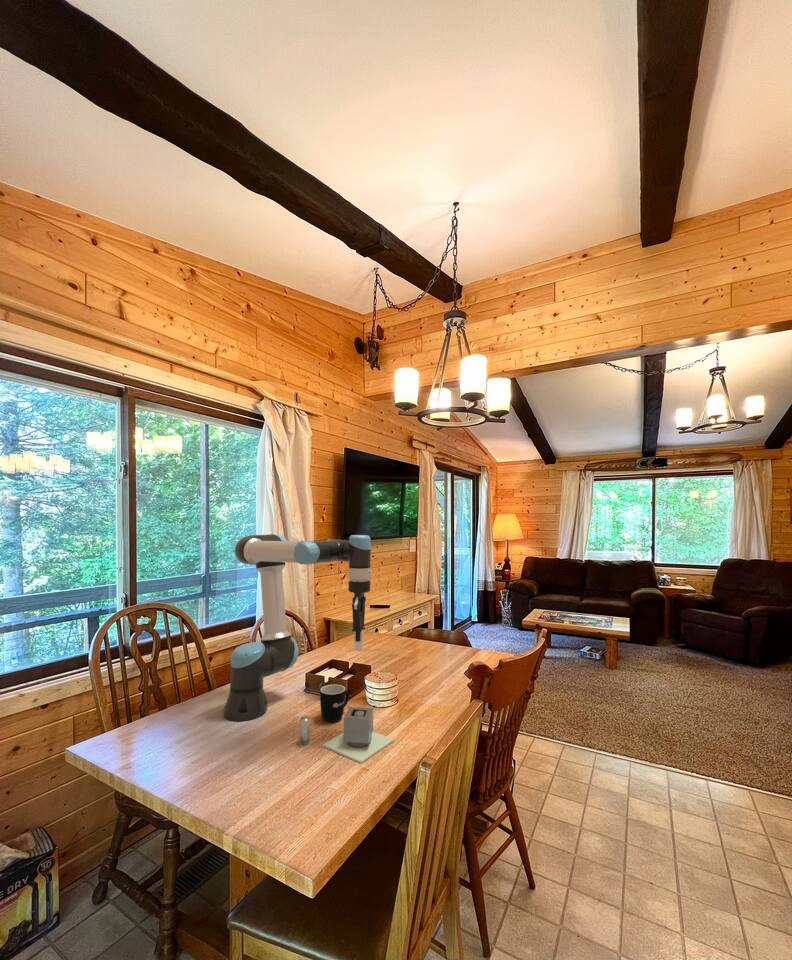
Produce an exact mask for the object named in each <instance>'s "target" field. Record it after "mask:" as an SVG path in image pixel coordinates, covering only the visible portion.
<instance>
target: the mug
mask: <svg viewBox="0 0 792 960" xmlns="http://www.w3.org/2000/svg"><path fill="white" fill-rule="evenodd" d="M319 700H320V701H319V702H320V713H321V717H322V720H323V721H324V722H325V723H336V722H339V721H340V720H341V719H342V717H343V714H344V710H345V707H346V706H347V704H348V703H349V702H348V701H349V693H348V691H347V690H346V687H345V686H343V685H341V684H327V685H324V686H322V687H321V688H320V691H319Z"/></svg>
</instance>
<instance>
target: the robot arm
mask: <svg viewBox="0 0 792 960" xmlns="http://www.w3.org/2000/svg"><path fill="white" fill-rule="evenodd" d="M348 539H349V540H345V539H344V540H343V539H336V538H334V539H326V540H312V541H311V540H305V541H304V540H296V541H295V540H287V538H286V537H284V536H283V535H280V534H274V533H272V534H253V535H252V534H251V535H246V536H244V537H242V538H241V539H239V540H238V541H237V543H236V544H235V547H234V555H235V558H236V559H237V561H239V562H240V563H242V564H245V565H251V566H252V565H253V566H254V565H255V569H256V571H258V572H259V573H260V586H261V600H262V603H261V604H262V605H261V606H262V614H263V615H262V617H263V632H264V633H263V636H262V637H261V638H260V642H259V641H253V642H247V643H244V644H241V645H239V646H236V648H235V649H233V650H232V652H231V658H230V661H229V662H230V679H229V681H230V682H229V694H228V696H227V699H226V702H225V705H224V707H223V716H224V718H225V719H227V720H230V721H234V722H243V721H245V722H246V721H250V720H255V719H257V718H260V717H261V716H264V715H265V714H266V713H267V712H268V700H267V697H266V694H265V690H264V678H266V677H269V676H271V675H272V676H273V675H275V674H278V673H280V672H285V671H287V670H288V669H291V668H292V667H293V666H294V665H295V663H297V660H298V657H299V645H298V644H297V641H296V640H295V639H294V637H292V634H291V633H290V632H289V631H288V630H287V619H286V607H285V605H286V604H285V592H284V590H285V589H284V582H283V569H285V567H286V563H295V564H299V565H309V566H310V565H314V564H321V563H324V564H325V563H331V562H348V579H349V580H348V586H347V588H348V592H349V593H353V594H354V595H353V597H352V604H351V609H352V630H351V632H353V634H354V636H353V637H354V638H353V641H354V642H353V651H354V652H363V650H364V648H363V647H364V641H363V640H364V630H366V627H364V626H365V618H366V617H365V616H366V614H365V613H366V601H367V597H366V596H365V593H366V594H367V593H369V592H371V581H370V579H371V574H372V573H373V571H372V570H371V555H372V554H371V553H372V546H371V545H372V544H371V537H370V536H369V535H367V534H366V535H365V534H351V535H350V536H349V538H348Z"/></svg>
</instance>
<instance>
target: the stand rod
mask: <svg viewBox="0 0 792 960" xmlns="http://www.w3.org/2000/svg"><path fill="white" fill-rule="evenodd" d="M299 727H300V728H299V732H300V733H299V745H300V746H308V745H310V741H311V734H310V733H311V717H310V716H308V715H307V716H306V715H305V716H302V717H300V726H299Z"/></svg>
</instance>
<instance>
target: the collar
mask: <svg viewBox="0 0 792 960" xmlns="http://www.w3.org/2000/svg"><path fill="white" fill-rule="evenodd" d="M356 711H363V712H364V717H362V716H355V712H356ZM372 732H374V707H359V706H358V707H357V706H349V707H348V709H347V711H346V713H345V715H344V717H343V733H344V734H343V742H358V743H369V741H370V738H371V735H372Z"/></svg>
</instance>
